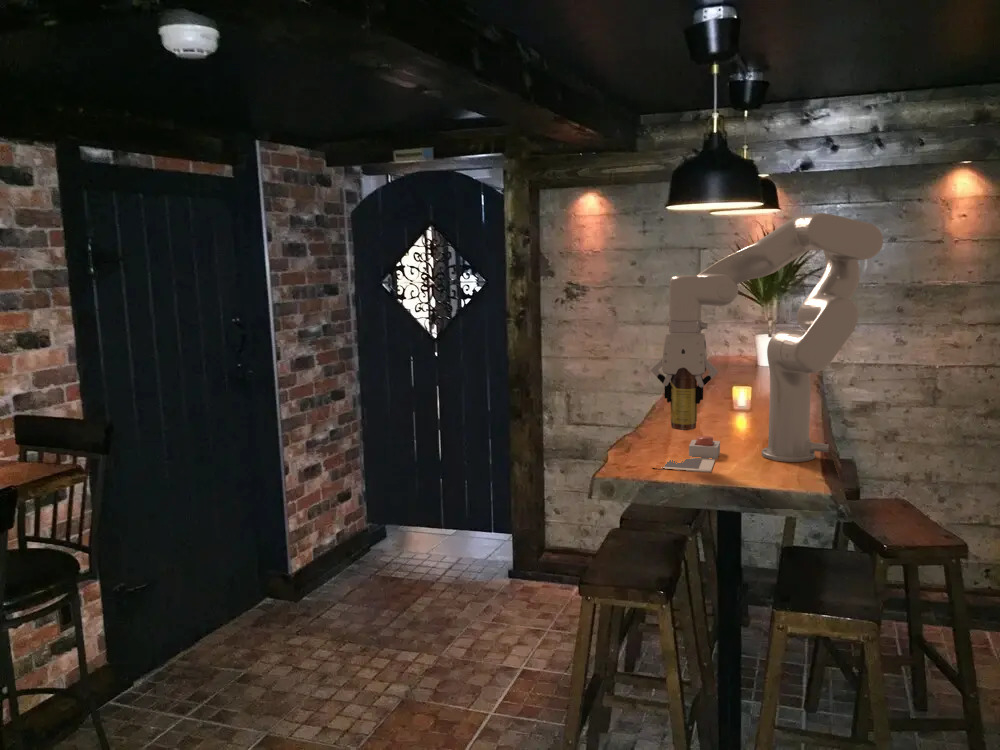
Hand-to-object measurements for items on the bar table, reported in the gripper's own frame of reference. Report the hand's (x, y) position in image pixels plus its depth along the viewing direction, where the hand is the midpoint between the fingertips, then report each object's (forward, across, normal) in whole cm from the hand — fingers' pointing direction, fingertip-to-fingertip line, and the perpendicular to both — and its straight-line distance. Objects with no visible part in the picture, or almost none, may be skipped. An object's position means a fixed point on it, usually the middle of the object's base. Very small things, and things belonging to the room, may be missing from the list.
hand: (683, 401), depth 199 cm
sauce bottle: (+7, 0, 0) cm, 7 cm away
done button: (+14, -4, -11) cm, 18 cm away
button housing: (+15, -4, -11) cm, 19 cm away
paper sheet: (+16, 0, 0) cm, 16 cm away
